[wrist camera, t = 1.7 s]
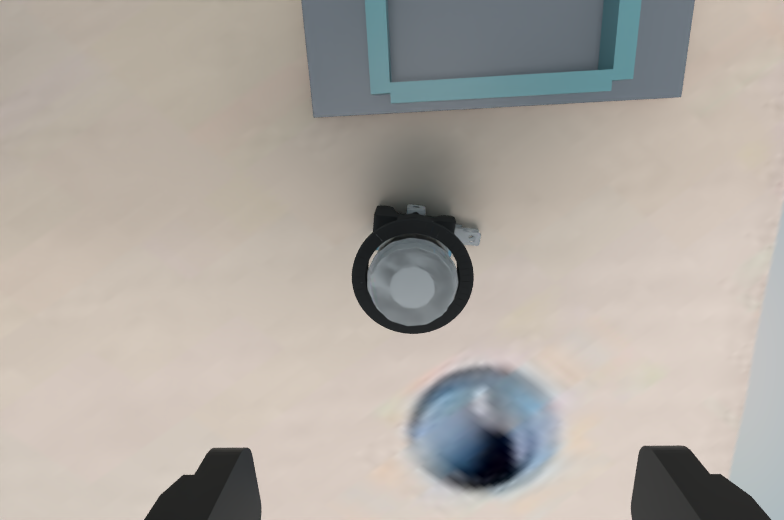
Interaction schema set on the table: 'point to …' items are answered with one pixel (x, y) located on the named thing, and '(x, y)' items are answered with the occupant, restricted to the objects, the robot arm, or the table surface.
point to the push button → (414, 270)
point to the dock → (491, 53)
